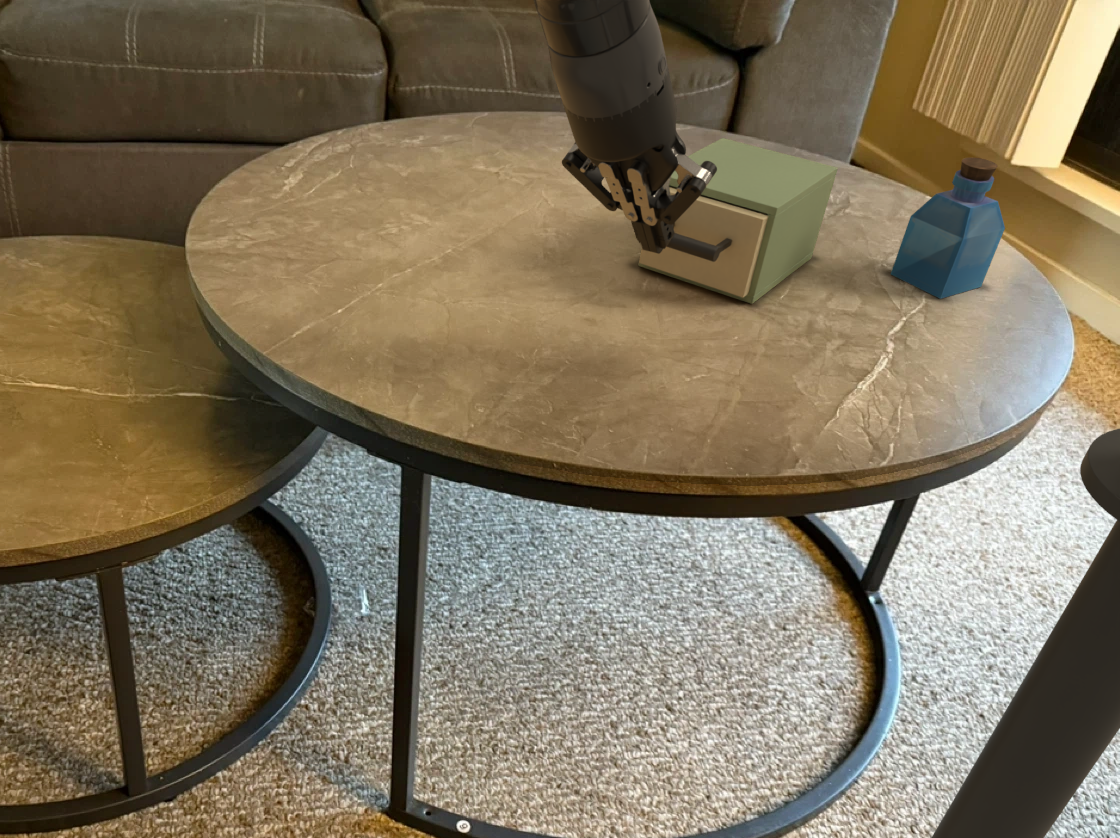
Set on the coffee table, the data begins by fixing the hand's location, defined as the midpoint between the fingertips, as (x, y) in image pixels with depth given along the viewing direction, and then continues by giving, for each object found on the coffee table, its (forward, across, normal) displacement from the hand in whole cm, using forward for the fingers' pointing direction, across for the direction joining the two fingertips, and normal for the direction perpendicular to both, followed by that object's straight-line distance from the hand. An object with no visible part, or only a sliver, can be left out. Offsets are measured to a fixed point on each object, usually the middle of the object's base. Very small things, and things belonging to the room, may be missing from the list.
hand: (657, 244), depth 88 cm
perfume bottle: (+28, +12, +24) cm, 39 cm away
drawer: (+18, -5, +12) cm, 22 cm away
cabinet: (+20, -5, +15) cm, 26 cm away
